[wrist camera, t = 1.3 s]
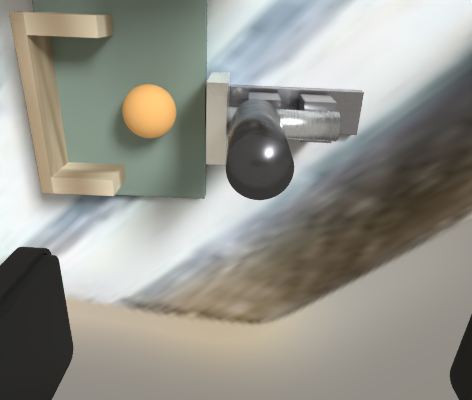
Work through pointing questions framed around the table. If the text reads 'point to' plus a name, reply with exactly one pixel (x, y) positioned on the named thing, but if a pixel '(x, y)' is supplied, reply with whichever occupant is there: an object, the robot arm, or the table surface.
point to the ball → (149, 111)
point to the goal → (57, 101)
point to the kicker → (262, 135)
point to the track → (290, 96)
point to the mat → (127, 78)
